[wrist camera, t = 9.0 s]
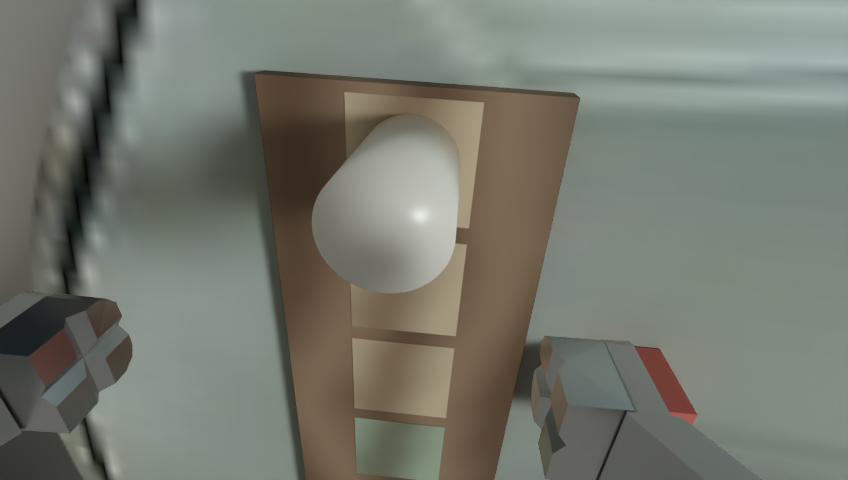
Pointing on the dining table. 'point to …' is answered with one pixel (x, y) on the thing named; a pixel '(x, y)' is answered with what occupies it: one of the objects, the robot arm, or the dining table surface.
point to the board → (423, 307)
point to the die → (667, 384)
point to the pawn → (392, 207)
